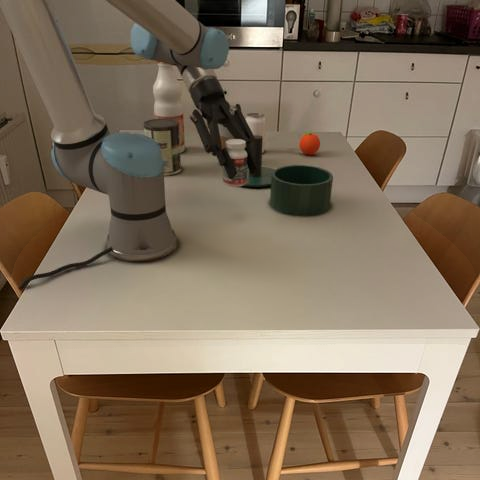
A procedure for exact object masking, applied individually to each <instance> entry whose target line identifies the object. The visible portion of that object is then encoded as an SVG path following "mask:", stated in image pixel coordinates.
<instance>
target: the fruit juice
mask: <svg viewBox="0 0 480 480" xmlns="http://www.w3.org/2000/svg"><path fill="white" fill-rule="evenodd" d="M156 63H157V66H158V71H157V75H156V76H157V77H156V79H155V81H154V83H153V86H152V94H153V97H154V104H153V116H154V119H173V120H176V121H178V122H179V126H178V127H179V145H180V154H181V153H184V152H185V149H186V141H185V125H184V124H185V123H184V106H183V102H182V99H181V98H182V93H183V91H182V89H183V88H182V85H181V83H180V82H179V80H178V79H177V77H176V74H175V71H174V65H170V64H167V63H162V62H157V61H156Z"/></svg>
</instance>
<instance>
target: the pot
mask: <svg viewBox="0 0 480 480" xmlns="http://www.w3.org/2000/svg"><path fill="white" fill-rule="evenodd" d="M274 169H275V170H274V171H273V172H272V175H271V186H270V195H269V196H270V197H269V201H270V202H269V203H270V206H271V208H272V209H273V210H275V211H276V212H279V213H282V214H285V215H289V216H296V217H309V216H317V215H321V214H324V213H326V212H327V211H328V210H329V208H330V205H331V198H332V189H333V181H334V176H333V173H332V172H330V171H329V170H327V169H325V168H322V167H318V166H314V165H308V164H307V165H305V164H291V165H284V166H279V167H277V168H274Z"/></svg>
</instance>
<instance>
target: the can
mask: <svg viewBox="0 0 480 480" xmlns="http://www.w3.org/2000/svg"><path fill="white" fill-rule="evenodd" d="M245 120H246V122H247V124H248V125H249V127H250V129H251V131H252V133H253V135H259V136H262V137H263V140H262V154H263V153H264V152H265V134H266V118H265V114H264V113H262V112H261V113H260V112H249V113H247V114H246V118H245Z"/></svg>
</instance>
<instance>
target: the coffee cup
mask: <svg viewBox="0 0 480 480" xmlns="http://www.w3.org/2000/svg"><path fill="white" fill-rule="evenodd" d="M229 112H230V111H229ZM230 113H231V112H230ZM218 127H219V133H220V138H221V144H222V149H223V148H226V141H227V140H230V139H235V138H234V137H233V136H232V134H231V133H230V132H229V131H228V129H227V128H226V127H224V126H223V125H222V124H221V123H218ZM226 150H227V148H226Z"/></svg>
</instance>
